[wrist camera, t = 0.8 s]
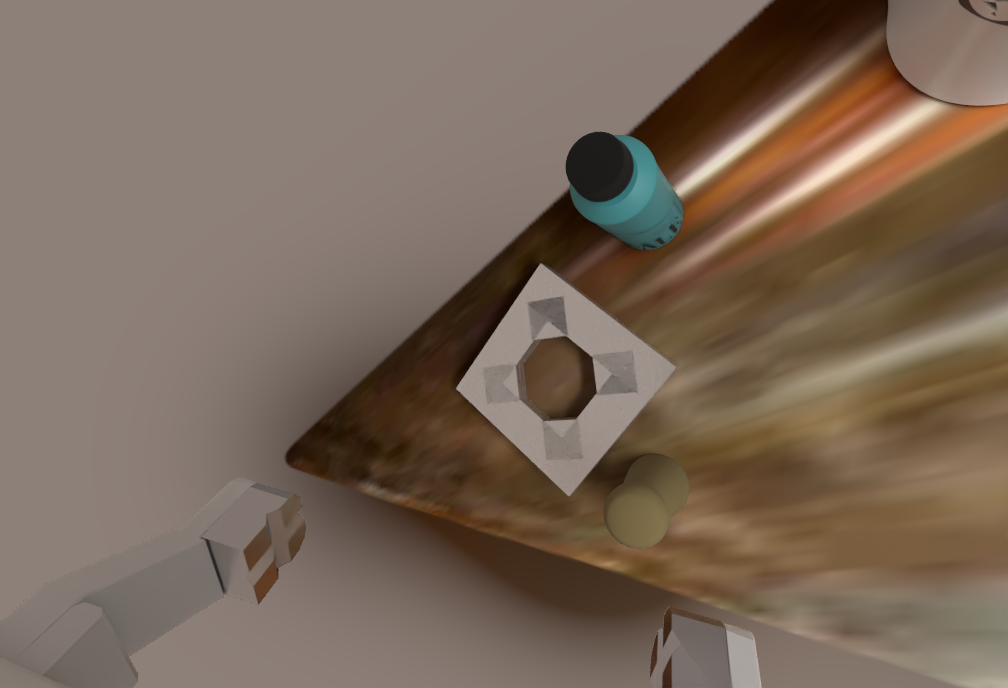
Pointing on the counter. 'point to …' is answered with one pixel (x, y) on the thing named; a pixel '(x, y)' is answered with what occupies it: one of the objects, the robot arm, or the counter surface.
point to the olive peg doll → (646, 501)
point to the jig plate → (617, 366)
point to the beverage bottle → (623, 190)
